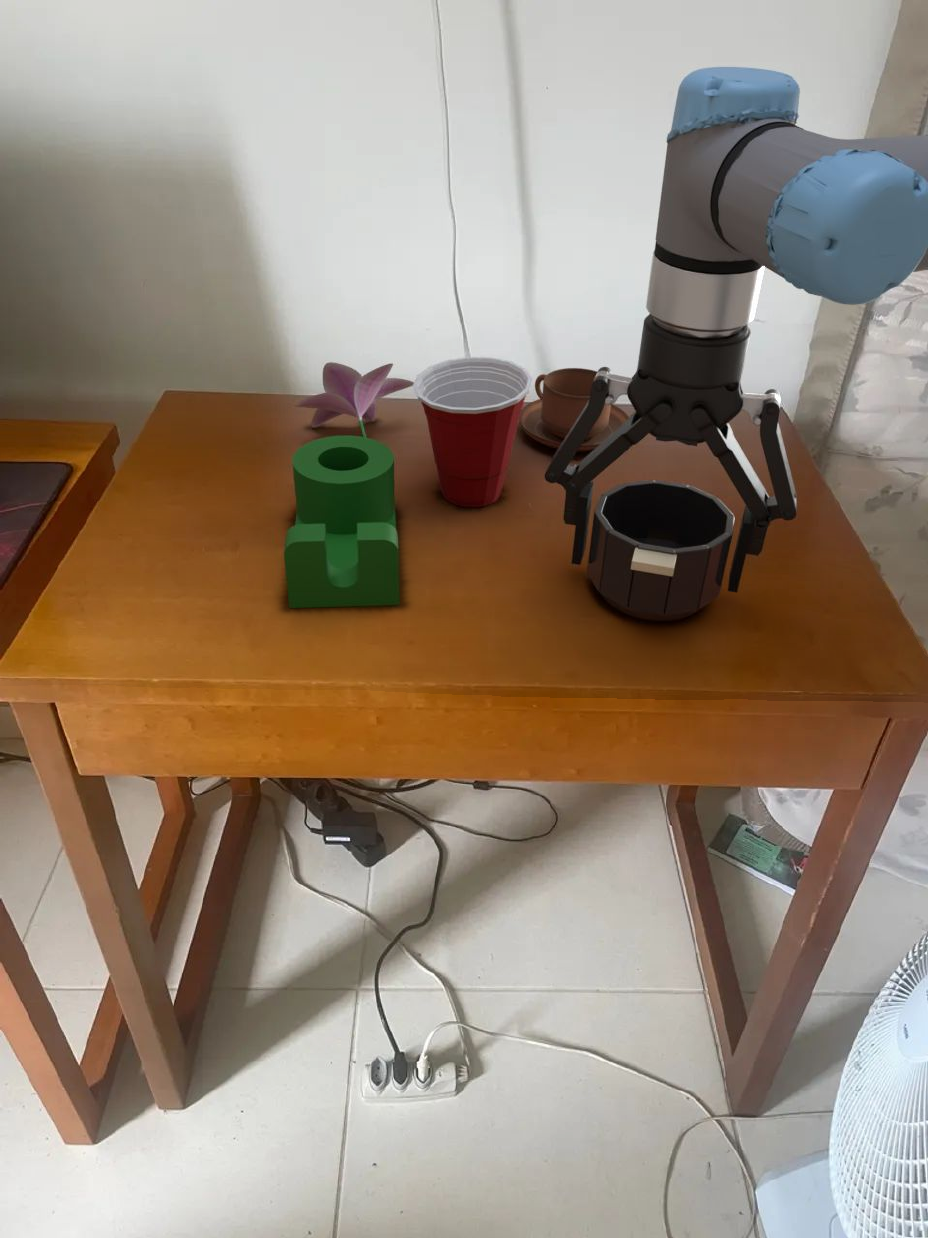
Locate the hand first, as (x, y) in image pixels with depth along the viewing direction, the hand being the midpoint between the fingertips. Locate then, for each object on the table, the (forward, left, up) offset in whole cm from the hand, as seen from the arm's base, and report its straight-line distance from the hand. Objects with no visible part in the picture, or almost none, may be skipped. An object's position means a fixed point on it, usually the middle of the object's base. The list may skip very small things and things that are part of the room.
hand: (654, 569), depth 82 cm
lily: (+24, +30, -2) cm, 38 cm away
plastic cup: (+14, +17, -2) cm, 22 cm away
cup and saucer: (+28, +7, -2) cm, 29 cm away
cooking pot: (0, 0, -1) cm, 1 cm away
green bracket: (+3, +27, -2) cm, 27 cm away
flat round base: (0, 0, -2) cm, 2 cm away
